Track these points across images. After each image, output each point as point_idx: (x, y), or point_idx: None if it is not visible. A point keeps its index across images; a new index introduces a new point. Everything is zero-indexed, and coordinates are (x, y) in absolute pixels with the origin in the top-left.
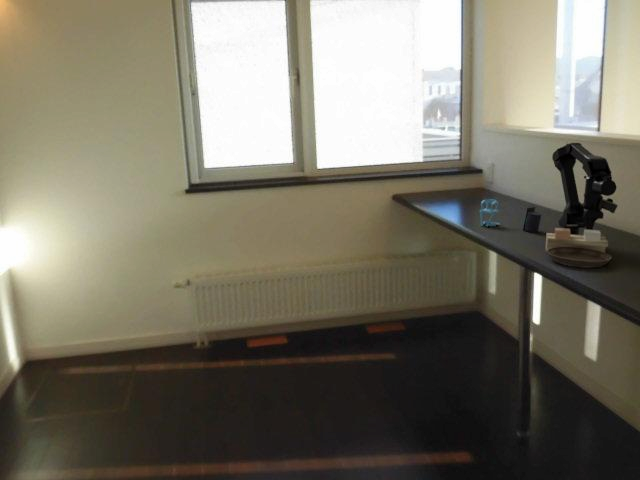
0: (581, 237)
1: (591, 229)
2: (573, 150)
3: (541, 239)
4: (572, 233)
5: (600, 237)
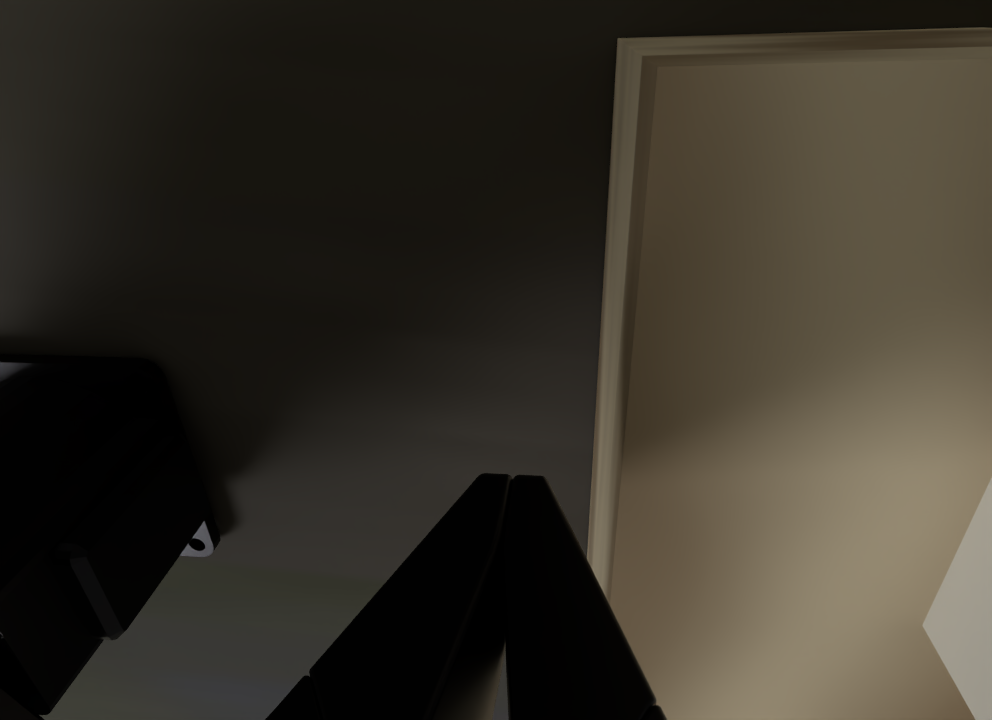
0: (927, 655)
1: (587, 576)
2: None
3: (133, 679)
4: (109, 583)
5: (915, 226)
